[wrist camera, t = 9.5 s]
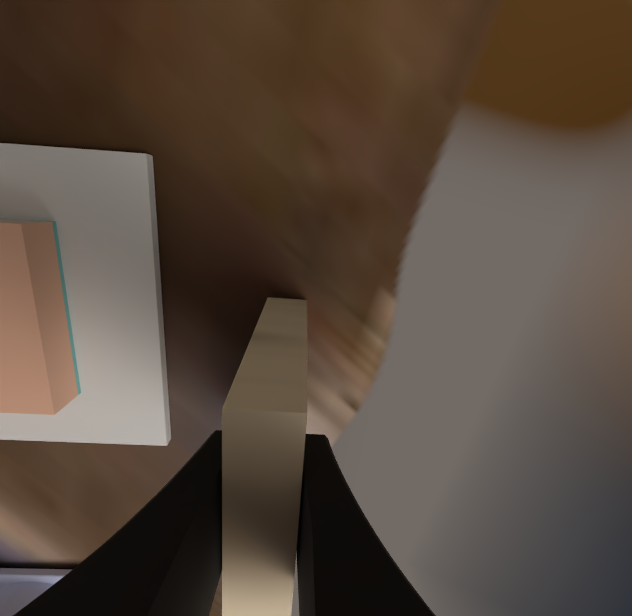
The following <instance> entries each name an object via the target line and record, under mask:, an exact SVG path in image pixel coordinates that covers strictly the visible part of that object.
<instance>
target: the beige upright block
mask: <svg viewBox="0 0 632 616" xmlns="http://www.w3.org/2000/svg"><path fill="white" fill-rule="evenodd" d="M306 424H307V300H300V299H285V298H270V297H268V298H267V300H266V303H265V305H264V308H263V310H262V313H261V315H260V318H259V320H258V322H257V325H256V327H255V330H254V332H253V335H252V337H251V339H250V342H249V344H248V347H247V349H246V352H245V354H244V356H243V359H242V361H241V364H240V366H239V369H238V371H237V373H236V376H235V378H234V381H233V383H232V386H231V388H230V390H229V393H228V395H227V398H226V400H225V403H224V405H223V407H222V616H291V610H292V597H293V585H294V573H295V560H296V548H297V536H298V523H299V511H300V498H301V486H302V473H303V461H304V448H305V436H306Z"/></svg>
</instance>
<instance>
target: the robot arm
mask: <svg viewBox="0 0 632 616" xmlns="http://www.w3.org/2000/svg"><path fill="white" fill-rule="evenodd" d="M296 550H297V569H298V570H297V571H298V593H299V612H300V613H299V614H300V616H435V614H434V613H433V612H432V611H431V610H430V608H429V607H428V606H427V605H426V603H425V602H424V601H423V599H422V598H421V597H420V596H419V594H418V593H417V591H416V590H415V589H414V588H413V586H412V585H411V584H410V582H409V581H408V580H407V578H406V577H405V576H404V574H403V573H402V571H401V570H400V569H399V567H398V566H397V564H396V563H395V562H394V560H393V559H392V557H391V556H390V554H389V553H388V551H387V550H386V548H385V547H384V545H383V544H382V543H381V541H380V539H379V538H378V536H377V535H376V533H375V531H374V530H373V528H372V527H371V525H370V523H369V522H368V520H367V518H366V517H365V515H364V513H363V512H362V510H361V508H360V507H359V505H358V503H357V501H356V499H355V498H354V496H353V494H352V492H351V490H350V488H349V486H348V484H347V482H346V480H345V478H344V476H343V474H342V472H341V470H340V468H339V466H338V464H337V461H336V459H335V457H334V454H333V452H332V449H331V446H330V444H329V440H328V438H327V437H326V436H325V435H318V434H306V436H305V448H304V461H303V473H302V486H301V498H300V511H299V523H298V536H297V548H296ZM221 571H222V431H219V430H216V431H215V432H214V433H212V434H211V436H210V437H209V438H208V439H207V440H206V441H205V443H204V444H203V445H202V446H201V447H200V448H199V450H198V451H197V452H196V453H195V454H194V455H193V456H192V457H191V459H190V460H189V461H188V462H187V463H186V464H185V465H184V466H183V467H182V469H181V470H180V471H179V472H178V473H177V474H176V475H175V476H174V477H173V478H172V479H171V480H170V481H169V482H168V483H167V484H166V485H165V486H164V487H163V488H162V490H161V491H160V492H159V493H158V494H157V495H156V496H155V497H154V498H152V499H151V500H150V501H149V502H148V503H147V504H146V505H145V506H144V507H143V508H142V509H141V510H140V511H139V512H138V513H137V514H136V515H135V516H134V517H133V518H132V519H131V520H129V521H128V522H127V523H126V524H125V525H124V526H123V527H122V528H121V529H120V530H119V531H117V532H116V533H115V534H114V535H113V536H112V537H111V538H110V539H108V540H107V541H106V542H105V543H104V544H103V545H102V546H100V547H99V548H98V549H97V550H96V551H94V552H93V553H92V554H91V555H90V556H89V557H87V558H86V559H85V560H84V561H83V562H81V563H80V564H79V565H78V566H77V567H75V568H74V569H73V570H72V569H26V568H0V616H209V612H210V609H211V606H212V602H213V599H214V595H215V592H216V588H217V585H218V581H219V578H220V575H221Z"/></svg>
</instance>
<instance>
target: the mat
mask: <svg viewBox="0 0 632 616" xmlns="http://www.w3.org/2000/svg"><path fill="white" fill-rule="evenodd" d="M0 218H9V219H25V220H40V221H56V225H57V232H58V239H59V246H60V252H61V259H62V266H63V273H64V280H65V286H66V293H67V300H68V307H69V313H70V320H71V327H72V334H73V341H74V347H75V354H76V361H77V368H78V375H79V381H80V388H81V393H80V394H79V395H78V396H77V397H75V398H74V399H73V400H72V401H71V402H69V403H68V404H67V405H66V406H65V407H63V408H62V409H61V410H60V411H59V412H57V413H56V414H55V415H45V414H20V413H0V439H1V440H28V441H55V442H81V443H108V444H135V445H162V446H167V445H168V443H169V441H170V439H171V429H170V413H169V398H168V383H167V368H166V352H165V337H164V322H163V306H162V291H161V276H160V260H159V245H158V230H157V215H156V199H155V184H154V169H153V156H152V155H149V154H144V153H131V152H117V151H103V150H90V149H76V148H62V147H48V146H35V145H21V144H7V143H0Z"/></svg>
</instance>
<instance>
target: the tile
mask: <svg viewBox="0 0 632 616" xmlns="http://www.w3.org/2000/svg"><path fill="white" fill-rule="evenodd" d="M80 393H81V388H80V381H79V375H78V368H77V361H76V354H75V347H74V341H73V334H72V327H71V320H70V313H69V307H68V300H67V293H66V286H65V280H64V273H63V266H62V259H61V252H60V246H59V239H58V232H57V225H56V221H40V220H25V219H9V218H0V413H20V414H45V415H55V414H56V413H57V412H59V411H60V410H61V409H62V408H63V407H65V406H66V405H67V404H68V403H69V402H71V401H72V400H73V399H74V398H75V397H77V396H78V395H79V394H80Z"/></svg>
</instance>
